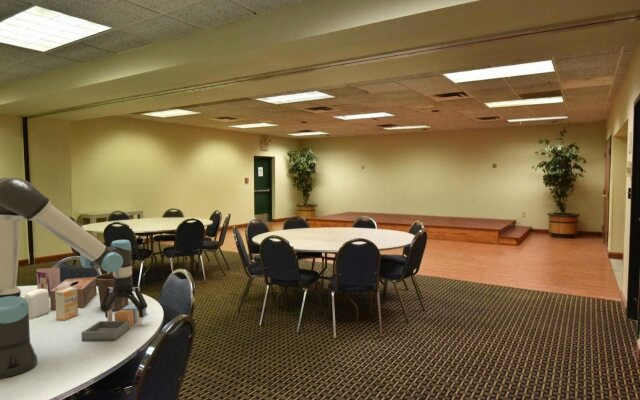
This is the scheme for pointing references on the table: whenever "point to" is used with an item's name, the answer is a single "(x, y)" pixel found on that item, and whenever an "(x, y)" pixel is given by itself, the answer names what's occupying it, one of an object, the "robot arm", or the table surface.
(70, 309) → the supplement box
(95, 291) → the tissue box cover
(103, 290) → the plant pot
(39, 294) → the photo printer
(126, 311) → the stub
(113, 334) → the tray
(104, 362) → the table surface
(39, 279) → the pink box
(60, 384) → the table surface
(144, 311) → the block
